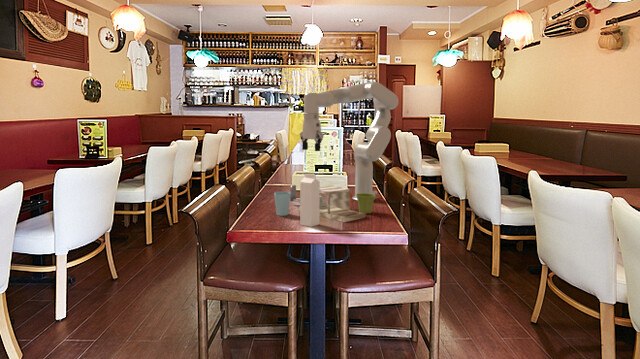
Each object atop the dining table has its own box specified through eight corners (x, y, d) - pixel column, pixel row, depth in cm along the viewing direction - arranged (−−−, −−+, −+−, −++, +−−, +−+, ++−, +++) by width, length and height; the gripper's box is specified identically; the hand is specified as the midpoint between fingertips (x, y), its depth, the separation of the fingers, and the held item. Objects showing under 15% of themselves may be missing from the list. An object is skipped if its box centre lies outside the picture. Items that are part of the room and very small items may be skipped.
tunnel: (297, 210, 229) (297, 186, 227) (318, 206, 238) (318, 183, 237) (344, 222, 206) (344, 195, 204) (365, 217, 215) (365, 191, 213)
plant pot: (377, 211, 229) (377, 193, 227) (372, 215, 220) (373, 197, 219) (358, 209, 232) (358, 192, 230) (353, 213, 223) (353, 196, 222)
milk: (308, 222, 206) (308, 172, 202) (319, 224, 202) (320, 174, 199) (299, 225, 201) (300, 174, 198) (311, 227, 197) (311, 175, 194)
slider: (284, 201, 240) (284, 186, 239) (297, 199, 246) (297, 184, 245) (313, 208, 224) (313, 191, 223) (326, 205, 230) (326, 189, 229)
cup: (285, 217, 215) (285, 194, 214) (271, 215, 219) (270, 193, 217) (293, 213, 222) (293, 192, 220) (279, 212, 225) (279, 191, 224)
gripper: (328, 117, 235) (328, 151, 238) (305, 116, 248) (305, 148, 250) (317, 117, 230) (317, 152, 233) (295, 116, 243) (295, 149, 245)
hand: (311, 150), depth 241 cm, fingers open, 9 cm apart
